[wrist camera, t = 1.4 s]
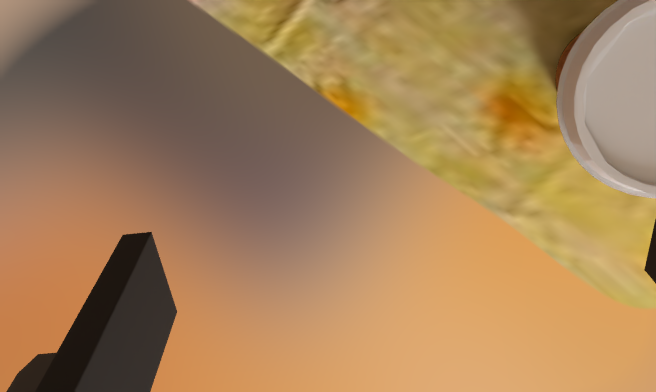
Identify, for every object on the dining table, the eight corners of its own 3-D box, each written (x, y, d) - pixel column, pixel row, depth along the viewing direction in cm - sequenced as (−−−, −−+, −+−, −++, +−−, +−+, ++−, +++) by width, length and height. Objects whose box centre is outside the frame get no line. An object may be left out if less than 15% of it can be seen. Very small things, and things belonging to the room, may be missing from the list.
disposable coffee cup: (735, 57, 33) (882, 73, 21) (611, 179, 36) (682, 248, 25) (607, -43, 32) (687, -80, 21) (495, 88, 36) (514, 116, 25)
